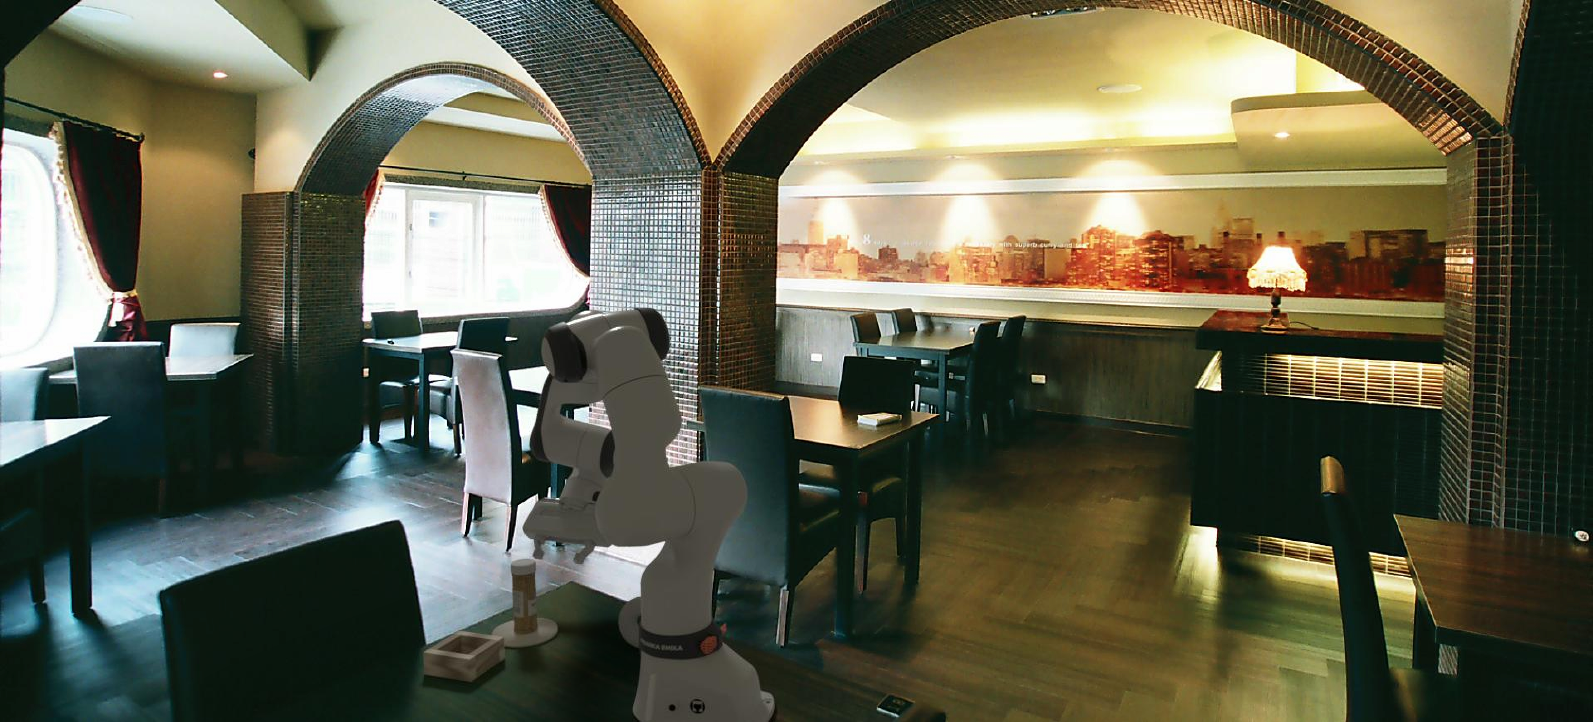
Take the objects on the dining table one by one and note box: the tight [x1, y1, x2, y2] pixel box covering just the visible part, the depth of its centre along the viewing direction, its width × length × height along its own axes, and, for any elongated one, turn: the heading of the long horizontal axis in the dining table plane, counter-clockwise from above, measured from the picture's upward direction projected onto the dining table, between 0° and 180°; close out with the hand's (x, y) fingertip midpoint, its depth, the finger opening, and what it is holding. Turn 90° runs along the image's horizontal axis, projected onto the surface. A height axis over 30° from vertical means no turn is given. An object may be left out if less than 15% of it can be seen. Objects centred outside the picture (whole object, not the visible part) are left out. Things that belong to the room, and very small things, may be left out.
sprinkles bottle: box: [510, 558, 538, 634], centre depth 173 cm, size 5×5×14 cm
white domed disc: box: [491, 617, 559, 648], centre depth 174 cm, size 12×12×1 cm
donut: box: [617, 595, 641, 649], centre depth 167 cm, size 10×4×10 cm, turn 82°
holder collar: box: [422, 630, 506, 683], centre depth 160 cm, size 10×10×4 cm
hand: (557, 560), depth 184 cm, fingers open, 8 cm apart
